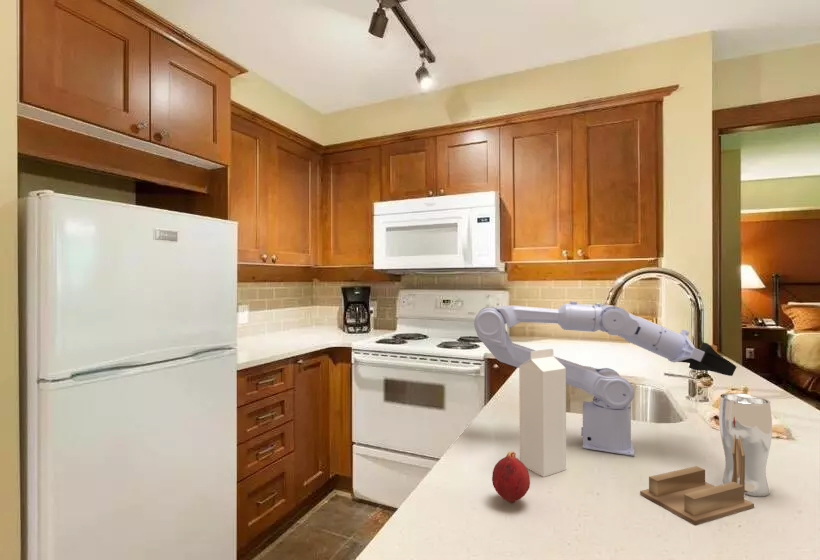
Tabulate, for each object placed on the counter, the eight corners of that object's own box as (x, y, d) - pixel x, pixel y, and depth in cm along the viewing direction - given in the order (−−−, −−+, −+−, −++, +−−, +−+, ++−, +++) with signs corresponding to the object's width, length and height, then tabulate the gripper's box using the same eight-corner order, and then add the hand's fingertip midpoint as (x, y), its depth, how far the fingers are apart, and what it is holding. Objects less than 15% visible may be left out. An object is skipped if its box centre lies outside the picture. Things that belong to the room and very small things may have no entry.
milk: (566, 470, 76) (567, 351, 76) (543, 477, 73) (543, 353, 73) (541, 457, 82) (541, 346, 82) (518, 464, 79) (519, 348, 79)
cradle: (640, 494, 67) (640, 475, 67) (695, 481, 72) (695, 463, 72) (695, 525, 59) (694, 503, 59) (754, 507, 63) (754, 487, 63)
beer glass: (783, 500, 65) (782, 405, 65) (733, 495, 67) (732, 403, 67) (756, 479, 72) (755, 393, 72) (711, 476, 74) (710, 391, 74)
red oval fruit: (523, 517, 61) (523, 462, 61) (486, 505, 64) (486, 454, 64) (534, 499, 66) (534, 449, 66) (499, 489, 69) (499, 441, 69)
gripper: (677, 323, 78) (753, 354, 75) (649, 318, 92) (712, 344, 89) (661, 356, 78) (736, 389, 76) (636, 346, 93) (698, 374, 90)
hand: (722, 367), depth 83 cm, fingers open, 7 cm apart
